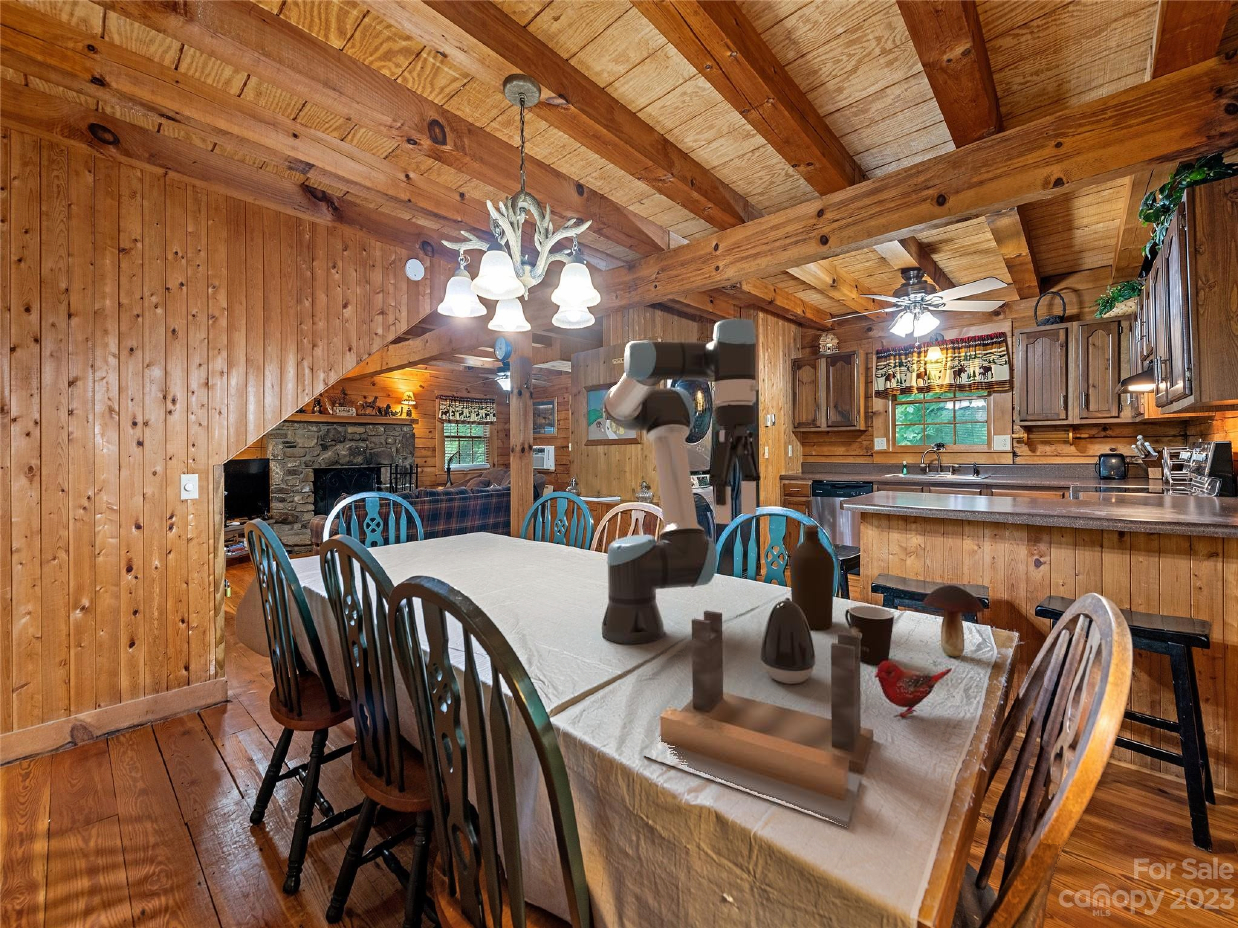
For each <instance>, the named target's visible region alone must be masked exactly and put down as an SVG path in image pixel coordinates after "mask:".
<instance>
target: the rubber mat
mask: <svg viewBox="0 0 1238 928" xmlns="http://www.w3.org/2000/svg"><path fill="white" fill-rule="evenodd" d="M658 736H659V737H660V736H661V733H660V734H659V735H658ZM659 742H660V741H659ZM667 745H669V744H667ZM670 746H672V745H670ZM668 748H669V749H673V750H671V751H675V752H677V753H674V752H673V753H670V754H674V755H673V756H677V757H678V758H676V759H679V760H683V761H679V762H682V763H684V762H685V763H688V764H681V765H687V767H689V768H692V769H694V770H696V771H699V772H703V773H705V774H708V775H710V776H713V777H715V778H716V777H717V778H719V779H721V780H724V781H726V782H730V783H733V784H735V785H737V786H741V787H743V788H745V789H749V790H750V791H754V792H757V793H758V794H762V795H766V796H769V797H772V798H776V799H778V800H781V801H785V802H786V803H789V804H792V805H794V806H797V807H799V808H801V809H804V810H807V811H811V812H813V813H815V814H818V815H820V816H822V817H825V818H828V819H829V820H832V821H834V822H836V823H838V824H841V825H843V826H846V827H848V828H849V826H850V823H851V819H852V816H853V812H854V809H853V807H854V808H855V805H856V802H855V801H857V798H858V795H857V794H859V791H860V787H861V784H862V775H858V774H854V773H851V772H849V789H848V792H847V795H846V798H845V802H844V801H841V800H838V799H835V798H832V797H829V796H826V795H823V794H819V793H816V792H813V791H810V790H807V789H804V788H801V787H798V786H795V785H792V784H789V783H786V782H783V781H780V780H777V779H774V778H770V777H767V776H764V775H761V774H758V773H755V772H752V771H749V770H746V769H743V768H740V767H737V766H734V765H731V764H728V763H725V762H721V761H718V760H715V759H712V758H709V757H706V756H703V755H700V754H697V753H694V752H691V751H688V750H685V749H682V748H679V747H668ZM671 751H670V752H671ZM677 754H678V755H677ZM681 757H682V758H681ZM684 760H686V761H684ZM854 804H855V805H854ZM852 811H853V812H852ZM851 815H852V816H851ZM850 818H851V819H850ZM849 822H850V823H849ZM843 826H842V827H843Z"/></svg>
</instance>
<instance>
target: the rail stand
mask: <svg viewBox="0 0 1238 928" xmlns="http://www.w3.org/2000/svg"><path fill="white" fill-rule="evenodd" d="M723 644H724V643H723V612H719V611H713V610H707V609H705V610H704V611H703V619H699V618H695V617H694V618H692V619H691V667H692V668H691V669H692V670H691V671H692V673H691V674H692V675H691V676H692V677H691V678H692V679H691V681H692V699H690V701H689V702H687V703H686V704H685V705H684V706H683V707H682V708H681V709H680V710H681V711H684V712H688V713H691V714H695V715H698V716H702V717H705V718H709V719H712V720H716V721H719V722H723V723H727V724H730V725H734V726H737V727H741V728H744V729H748V730H751V731H755V732H758V733H762V734H765V735H769V736H772V737H776V738H779V739H783V740H786V741H790V742H794V743H797V744H801V745H804V746H808V747H811V748H815V749H818V750H822V751H825V752H829V753H832V754H836V755H839V756H843V757H846V758H849V771H850V772H855V773H858V774H862V775H864V773H865V771H866V770H865V769H866V766H867V763H868V759H869V756H870V752H871V749H872V747H873V743H874V729H870V728H868V727H864V726H862V725H861V724H862V723H861V721H862V720H861V717H862V716H861V714H862V712H861V708H862V707H861V705H862V704H861V662H860V635H854V634H852V633H849V632H848V633H847V632H846V633H845V632H841V631H839V632H838V633H837V642H836V643H835V642H832V643H831V644H830V669H831V670H830V677H831V678H830V685H831V686H830V688H831V689H830V690H831V691H830V692H831V693H830V695H831V696H830V697H831V698H830V700H831V702H830V703H831V704H830V705H831V707H830V709H831V715H830V717H831V719H830V718H827V717H824V716H819V715H815V714H811V713H808V712H804V711H799V710H795V709H792V708H787V707H783V706H779V705H775V704H771V703H767V702H764V701H760V700H756V699H751V698H747V697H744V696H741V695H740V696H739V695H735V694H732V693H728V692H724V661H723V660H724V659H723V658H724V657H723V656H724V654H723V652H724V651H723V650H724V648H723Z"/></svg>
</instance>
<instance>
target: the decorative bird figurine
mask: <svg viewBox="0 0 1238 928" xmlns="http://www.w3.org/2000/svg"><path fill="white" fill-rule="evenodd" d="M952 670H953V668H952V667H950V668H947V669H945V670H942V671H940V672H938V673H936V674H933V675H929V674H925V673H922V672H920V671H913V670H905V669H903V668H901V667H900V666H899V665H898V664H897V663H895V662H893V661H889V660H888V661H883V662H882V663H880V665H879V666H878V667H877V672H876V673H875V675H874V678H878V679H877V680H878V682H879V685H880V687H881V691H882V693H883V694H884V697H885V698H886V700H888V702H890V703H891V704H893V705H895V706H897V707H900V708H907V709H905V710H904V711H903V712H899V714H896V715H894V716H893V718H897V717H901V718H905V717H907V716H909V715H912V714H914V712H915V713H917V712H918V710H916V709H914V708H915V707H916V706H917V705H919V704H920V703H921V702H922V701H924V699H926V698H927V697H928V696H929V695H930V694H931V693H932V691H933V690H934V687H935V686H936V685H937V683H938V682H939V681H940V680H941V679H943V678H944V677H946V676H947V675H948V674H949V673H951V672H952Z"/></svg>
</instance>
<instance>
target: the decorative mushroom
mask: <svg viewBox="0 0 1238 928" xmlns="http://www.w3.org/2000/svg"><path fill="white" fill-rule="evenodd" d="M922 604H923V605H924V606H926V607H931V608H934V609H937V610H940V611H943V617H942V621H941V630H940V648H941V650H942V652H943V653H944V654H945V655H946V656H949V657H952V658H955V657H960V656H962V655H963V654H964V651H965V633H964V632H965V631H964V624H963V619H962V614H977V613H978V614H979V613H983V612H984V611H985V608H984V607H983V605H982V603H981V602H980V600H979V599H978V598H977V597H976V596H975V595H973V594H972V593H971V592H969V591H967V590H966V589H964V588H961V587H960V586H957V585H954V584H953V585H952V584H948V585H944V586H940V587H937V588H936V589H934V590H932V591H931V592H930V593H928V594H927V596H926V597H925V598H924V600H923V601H922Z"/></svg>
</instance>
